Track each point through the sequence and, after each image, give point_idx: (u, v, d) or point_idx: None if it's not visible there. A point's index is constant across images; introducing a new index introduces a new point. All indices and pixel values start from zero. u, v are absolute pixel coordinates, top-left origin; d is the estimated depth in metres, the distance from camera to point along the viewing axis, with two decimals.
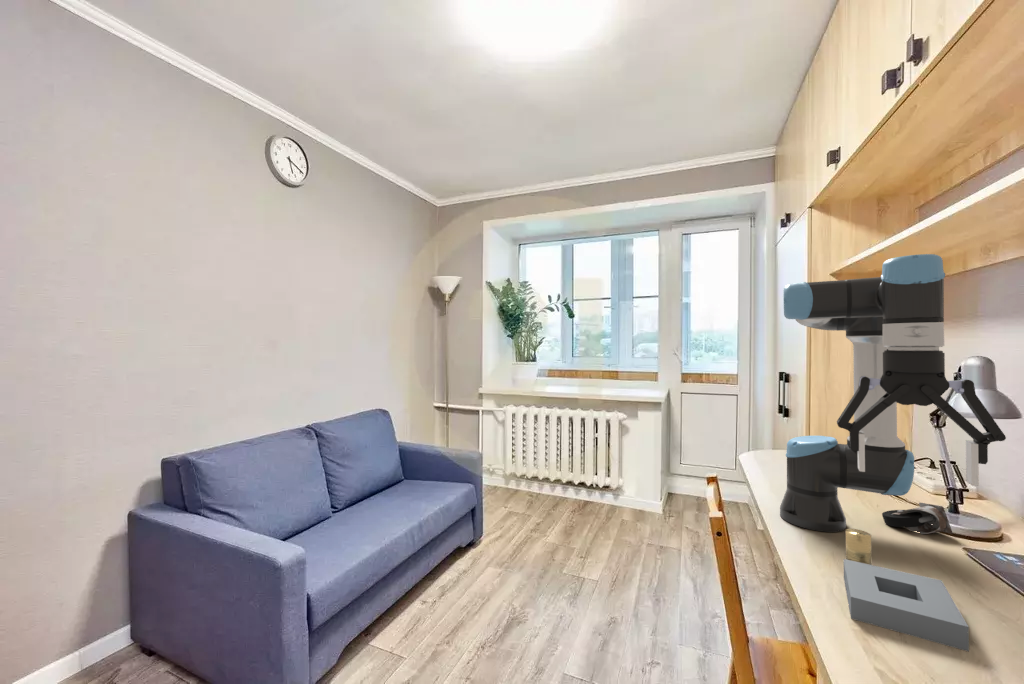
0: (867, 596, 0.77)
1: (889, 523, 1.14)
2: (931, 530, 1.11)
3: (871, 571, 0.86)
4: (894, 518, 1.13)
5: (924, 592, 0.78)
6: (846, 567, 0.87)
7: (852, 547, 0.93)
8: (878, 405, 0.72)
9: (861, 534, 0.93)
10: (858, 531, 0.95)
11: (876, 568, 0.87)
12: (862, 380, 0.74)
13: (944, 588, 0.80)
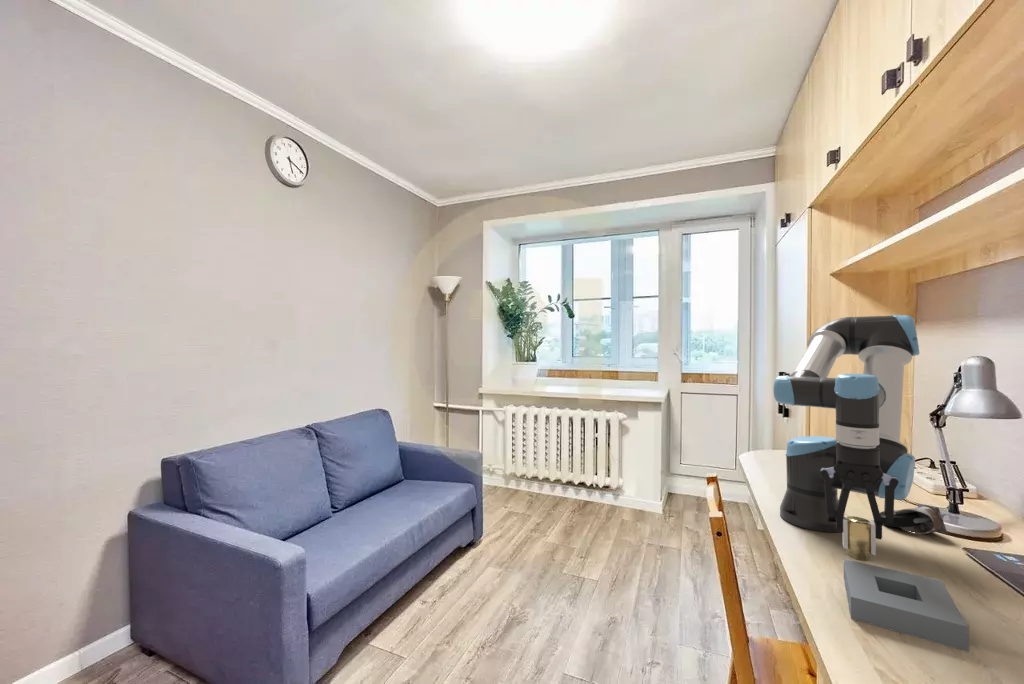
0: (867, 596, 0.77)
1: None
2: (927, 531, 1.10)
3: (871, 571, 0.86)
4: None
5: (924, 592, 0.78)
6: (846, 567, 0.87)
7: (852, 535, 0.93)
8: (843, 492, 0.95)
9: (861, 521, 0.94)
10: (858, 519, 0.95)
11: (876, 568, 0.87)
12: (822, 473, 0.97)
13: (944, 588, 0.80)
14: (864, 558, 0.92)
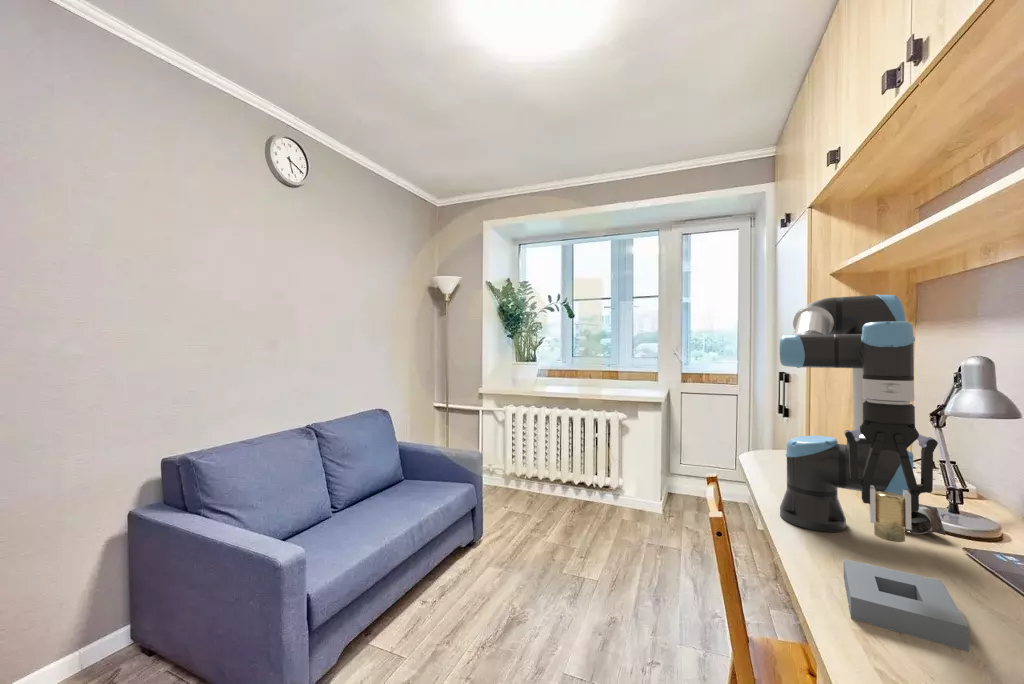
0: (867, 596, 0.77)
1: None
2: (925, 531, 1.10)
3: (871, 571, 0.86)
4: None
5: (924, 592, 0.78)
6: (846, 567, 0.87)
7: (882, 511, 0.81)
8: (871, 457, 0.82)
9: (893, 496, 0.81)
10: (889, 493, 0.82)
11: (876, 568, 0.87)
12: (846, 435, 0.84)
13: (944, 588, 0.80)
14: (896, 538, 0.79)
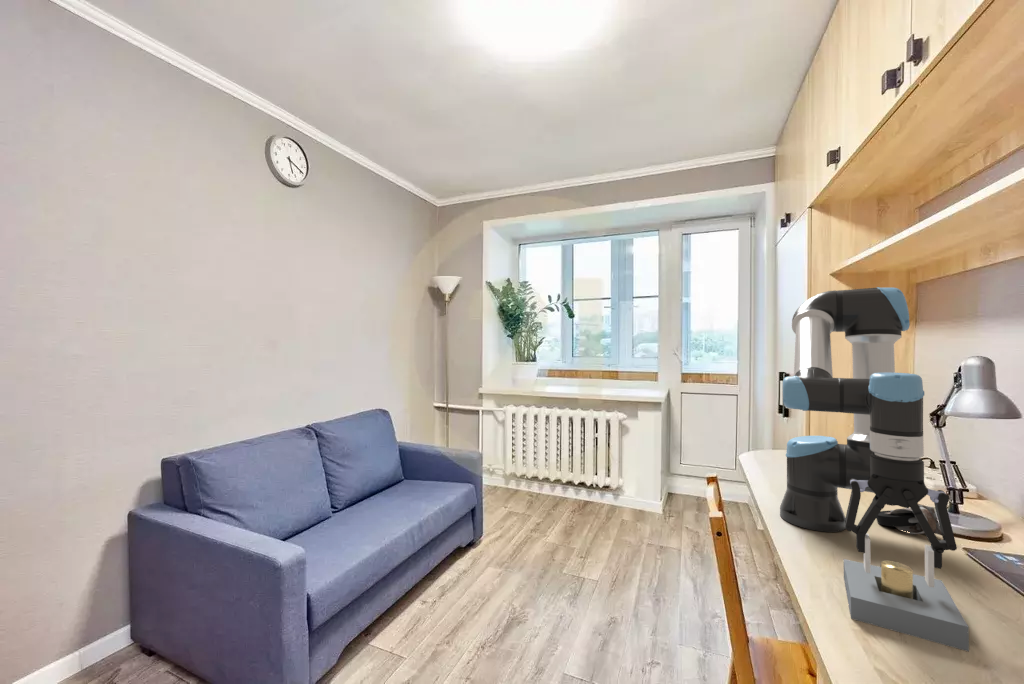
0: (867, 596, 0.77)
1: (879, 522, 1.15)
2: None
3: (871, 571, 0.86)
4: (883, 517, 1.14)
5: (924, 592, 0.78)
6: (846, 567, 0.87)
7: (890, 584, 0.79)
8: (873, 508, 0.81)
9: (901, 568, 0.79)
10: (896, 564, 0.81)
11: (876, 568, 0.87)
12: (852, 485, 0.82)
13: (944, 588, 0.80)
14: None
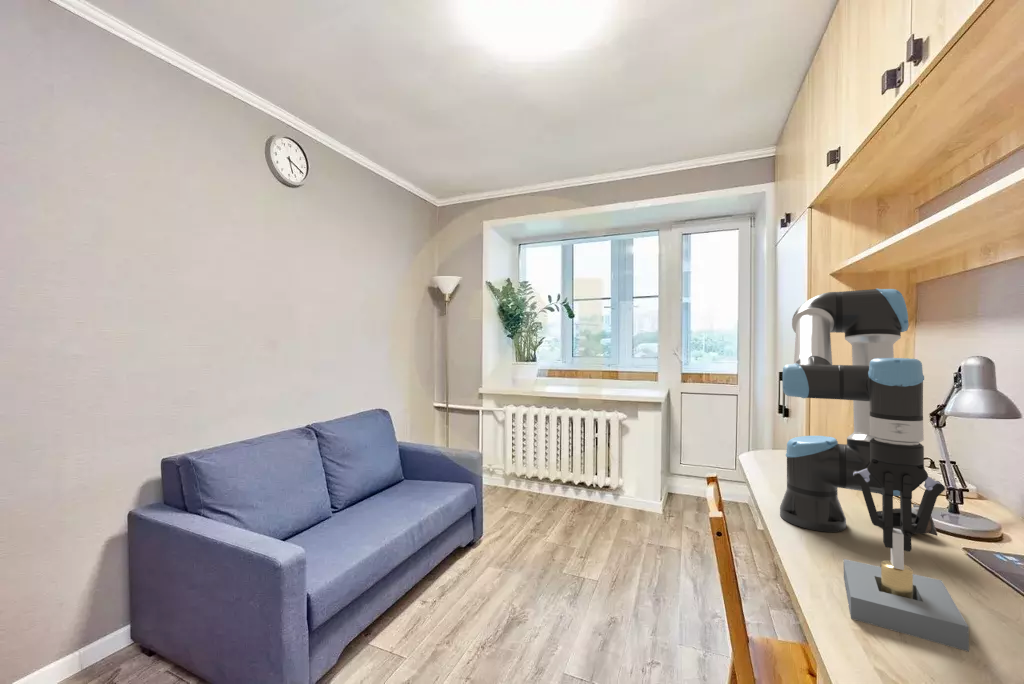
0: (867, 596, 0.77)
1: None
2: None
3: (871, 571, 0.86)
4: (879, 516, 1.15)
5: (924, 592, 0.78)
6: (846, 567, 0.87)
7: (890, 584, 0.79)
8: (885, 498, 0.80)
9: None
10: None
11: (876, 568, 0.87)
12: (856, 478, 0.82)
13: (944, 588, 0.80)
14: None
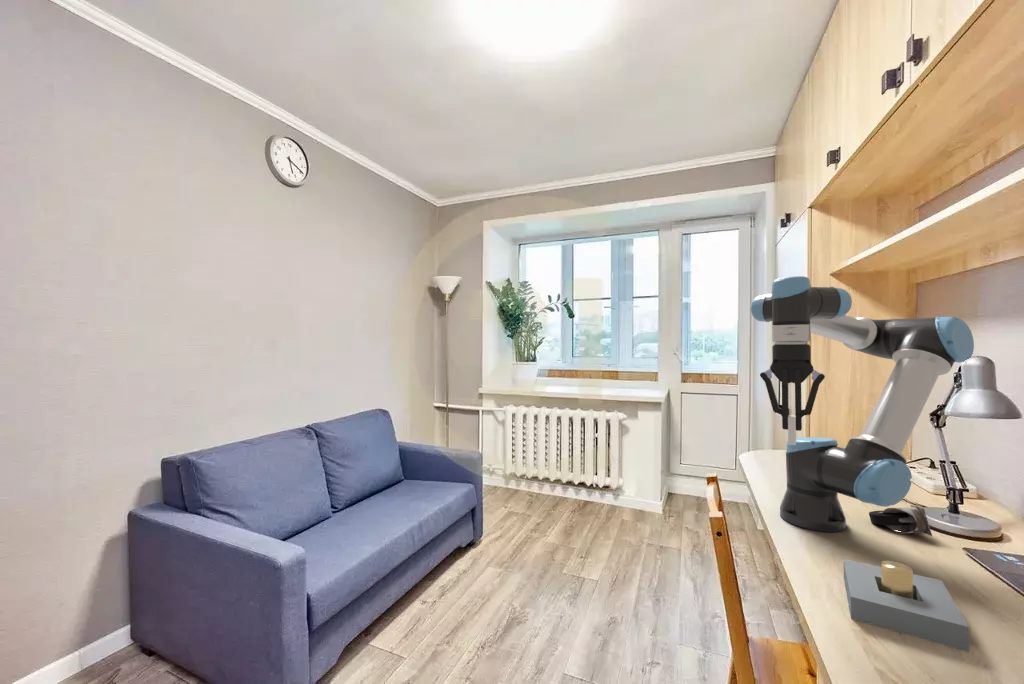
0: (867, 596, 0.77)
1: (871, 520, 1.16)
2: None
3: (871, 571, 0.86)
4: (874, 515, 1.15)
5: (924, 592, 0.78)
6: (846, 567, 0.87)
7: (890, 584, 0.79)
8: (782, 390, 1.00)
9: (901, 568, 0.79)
10: (896, 564, 0.81)
11: (876, 568, 0.87)
12: (761, 376, 1.02)
13: (944, 588, 0.80)
14: None
